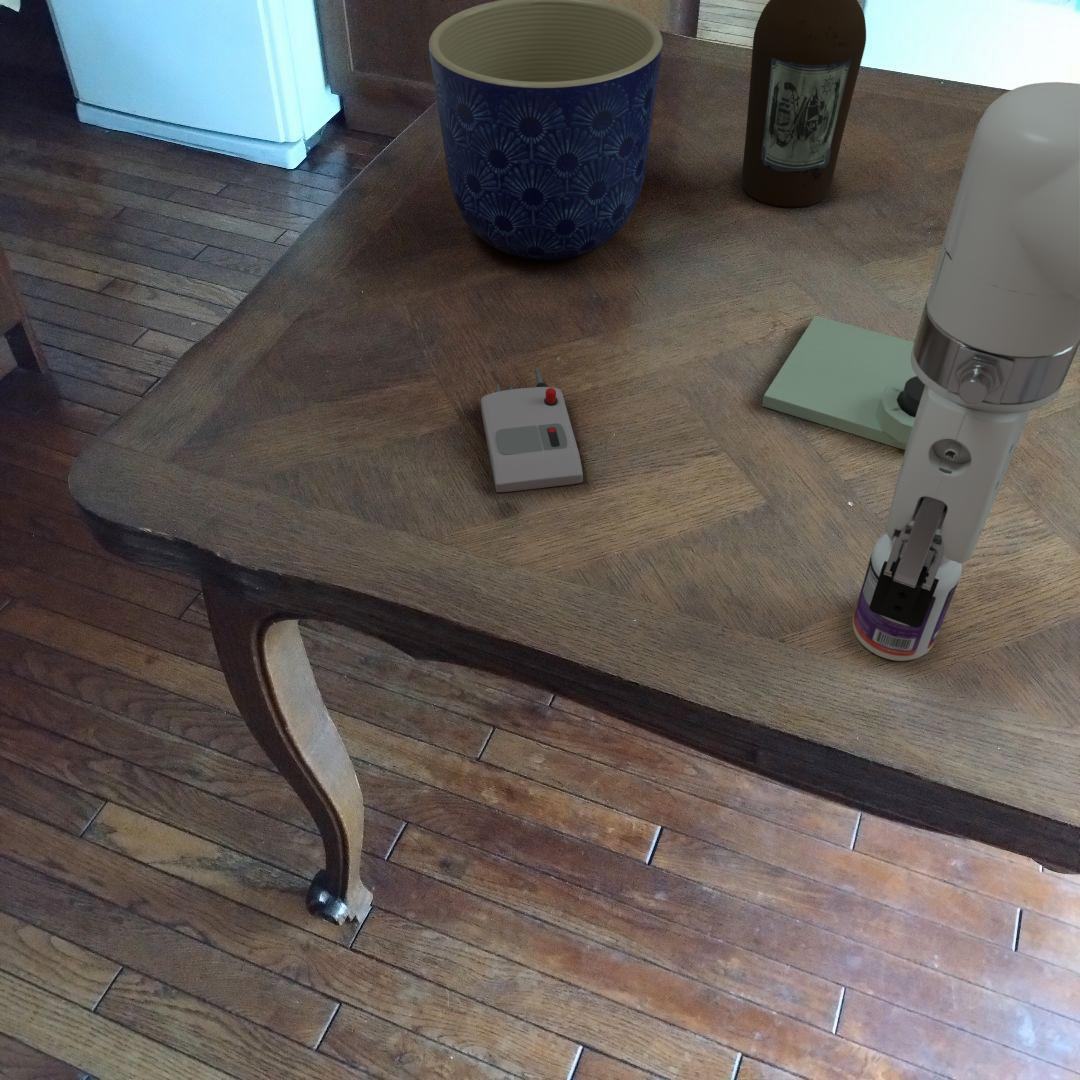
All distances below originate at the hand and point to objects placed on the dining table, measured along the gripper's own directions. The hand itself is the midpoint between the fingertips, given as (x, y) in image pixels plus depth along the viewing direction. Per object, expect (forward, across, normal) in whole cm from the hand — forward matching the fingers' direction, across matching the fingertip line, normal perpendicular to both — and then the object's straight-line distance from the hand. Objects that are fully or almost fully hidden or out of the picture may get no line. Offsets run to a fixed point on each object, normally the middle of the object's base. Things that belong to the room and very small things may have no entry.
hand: (909, 581), depth 67 cm
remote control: (+5, +6, +31) cm, 32 cm away
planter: (+5, +35, +45) cm, 57 cm away
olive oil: (+5, +55, +27) cm, 61 cm away
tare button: (+2, +21, +4) cm, 21 cm away
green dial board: (+5, +25, +8) cm, 27 cm away
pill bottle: (+5, 0, 0) cm, 5 cm away
